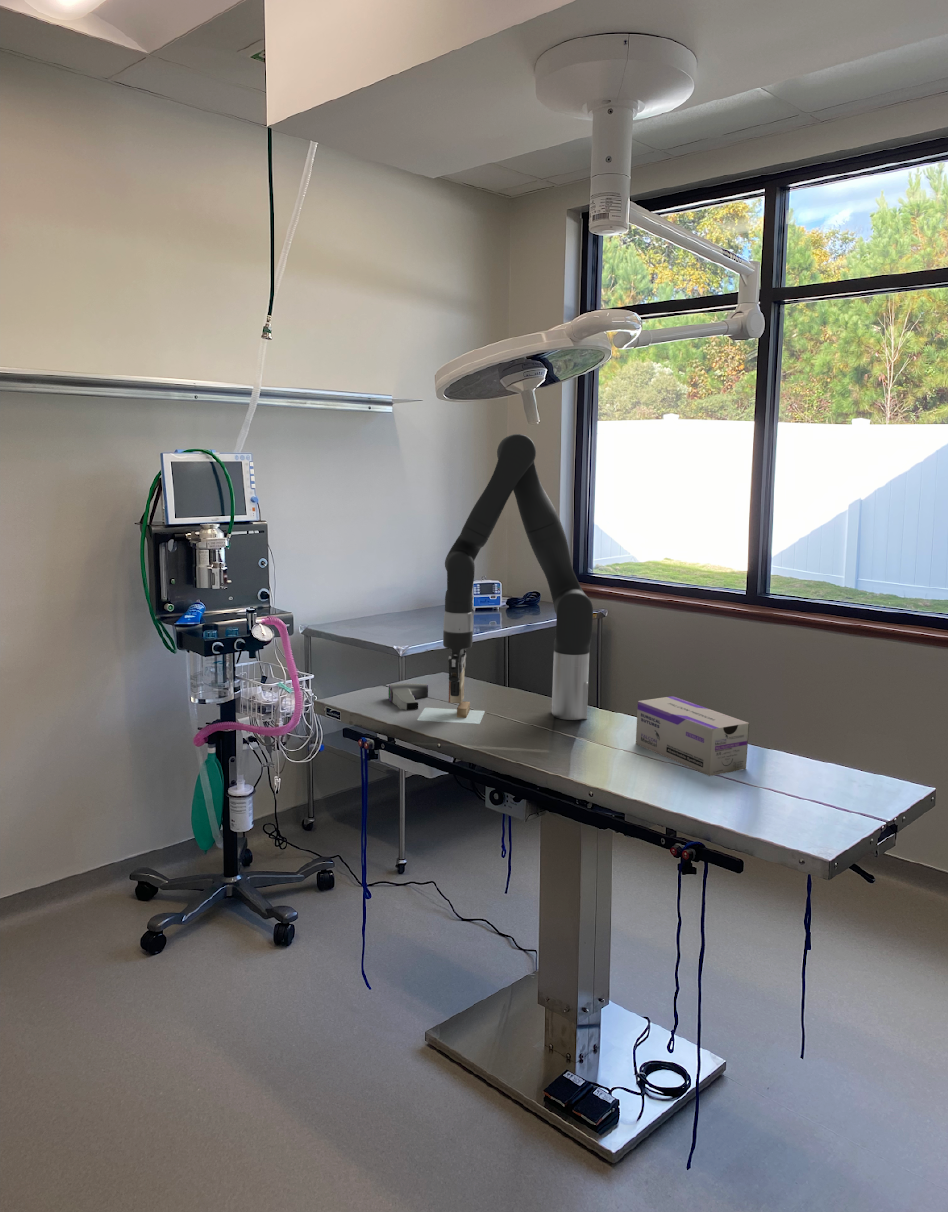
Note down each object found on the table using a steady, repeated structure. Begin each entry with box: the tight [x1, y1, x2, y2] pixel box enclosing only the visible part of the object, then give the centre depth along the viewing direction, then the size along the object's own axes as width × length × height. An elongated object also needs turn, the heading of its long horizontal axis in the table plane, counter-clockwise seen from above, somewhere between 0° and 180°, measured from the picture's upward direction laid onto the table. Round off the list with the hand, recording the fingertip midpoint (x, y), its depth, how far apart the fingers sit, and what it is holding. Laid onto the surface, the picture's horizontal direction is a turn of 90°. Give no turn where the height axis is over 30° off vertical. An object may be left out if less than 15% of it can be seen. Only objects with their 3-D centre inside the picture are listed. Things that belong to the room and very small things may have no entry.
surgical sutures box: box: [635, 695, 750, 777], centre depth 212 cm, size 25×11×11 cm, turn 29°
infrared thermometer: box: [388, 682, 429, 711], centre depth 252 cm, size 5×12×15 cm
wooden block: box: [448, 667, 466, 704], centre depth 240 cm, size 3×6×8 cm, turn 173°
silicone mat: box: [416, 707, 486, 725], centre depth 239 cm, size 16×12×1 cm
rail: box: [456, 700, 471, 718], centre depth 241 cm, size 2×7×2 cm, turn 173°
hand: (456, 692), depth 240 cm, fingers closed on wooden block, 5 cm apart
